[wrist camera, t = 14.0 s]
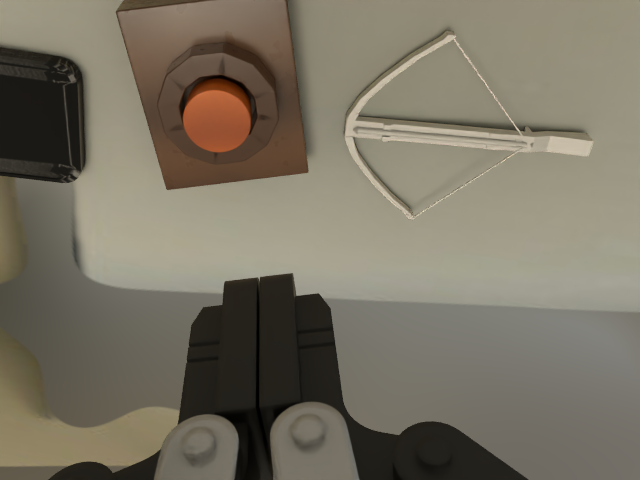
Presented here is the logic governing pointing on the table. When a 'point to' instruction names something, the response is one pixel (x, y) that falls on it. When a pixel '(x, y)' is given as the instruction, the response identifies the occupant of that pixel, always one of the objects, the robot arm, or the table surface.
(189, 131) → the button
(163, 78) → the button block
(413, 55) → the crossbow
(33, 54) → the phone
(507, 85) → the table surface
